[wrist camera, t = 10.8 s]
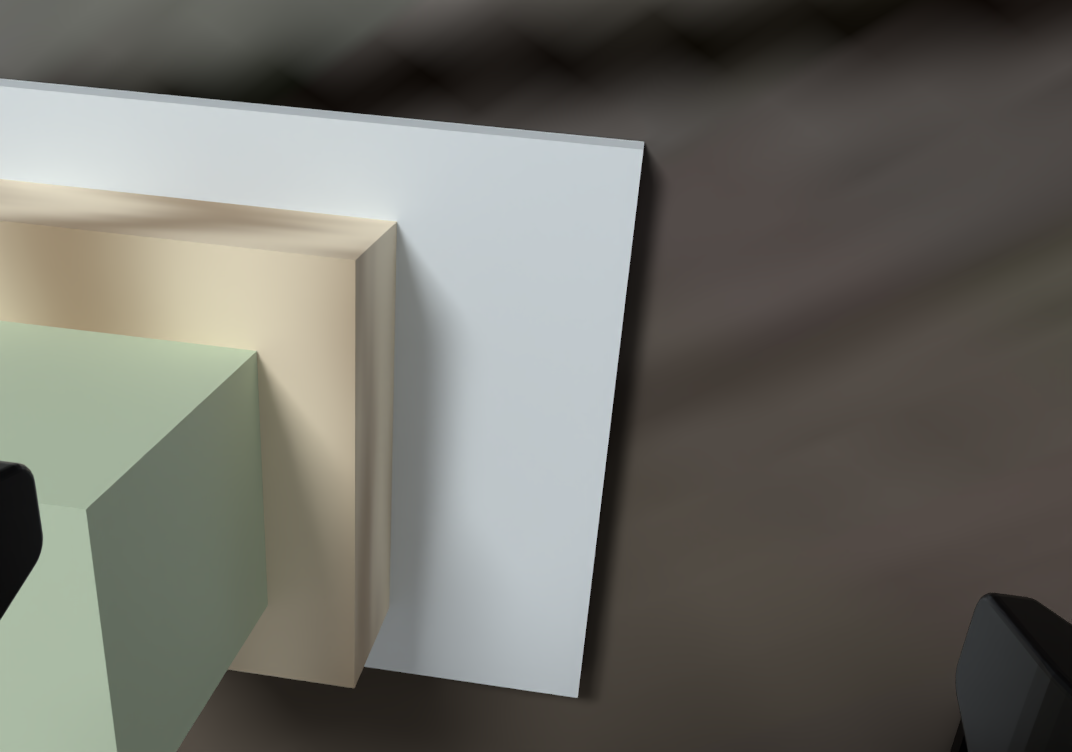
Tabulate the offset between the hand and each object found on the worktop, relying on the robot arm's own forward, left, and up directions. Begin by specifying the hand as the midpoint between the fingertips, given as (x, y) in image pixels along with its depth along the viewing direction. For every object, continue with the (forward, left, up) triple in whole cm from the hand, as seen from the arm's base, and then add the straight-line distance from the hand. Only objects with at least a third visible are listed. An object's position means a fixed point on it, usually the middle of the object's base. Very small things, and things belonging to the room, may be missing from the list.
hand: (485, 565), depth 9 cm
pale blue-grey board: (+9, +5, -13) cm, 17 cm away
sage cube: (+9, +5, -9) cm, 14 cm away
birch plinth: (+9, +5, -12) cm, 16 cm away
